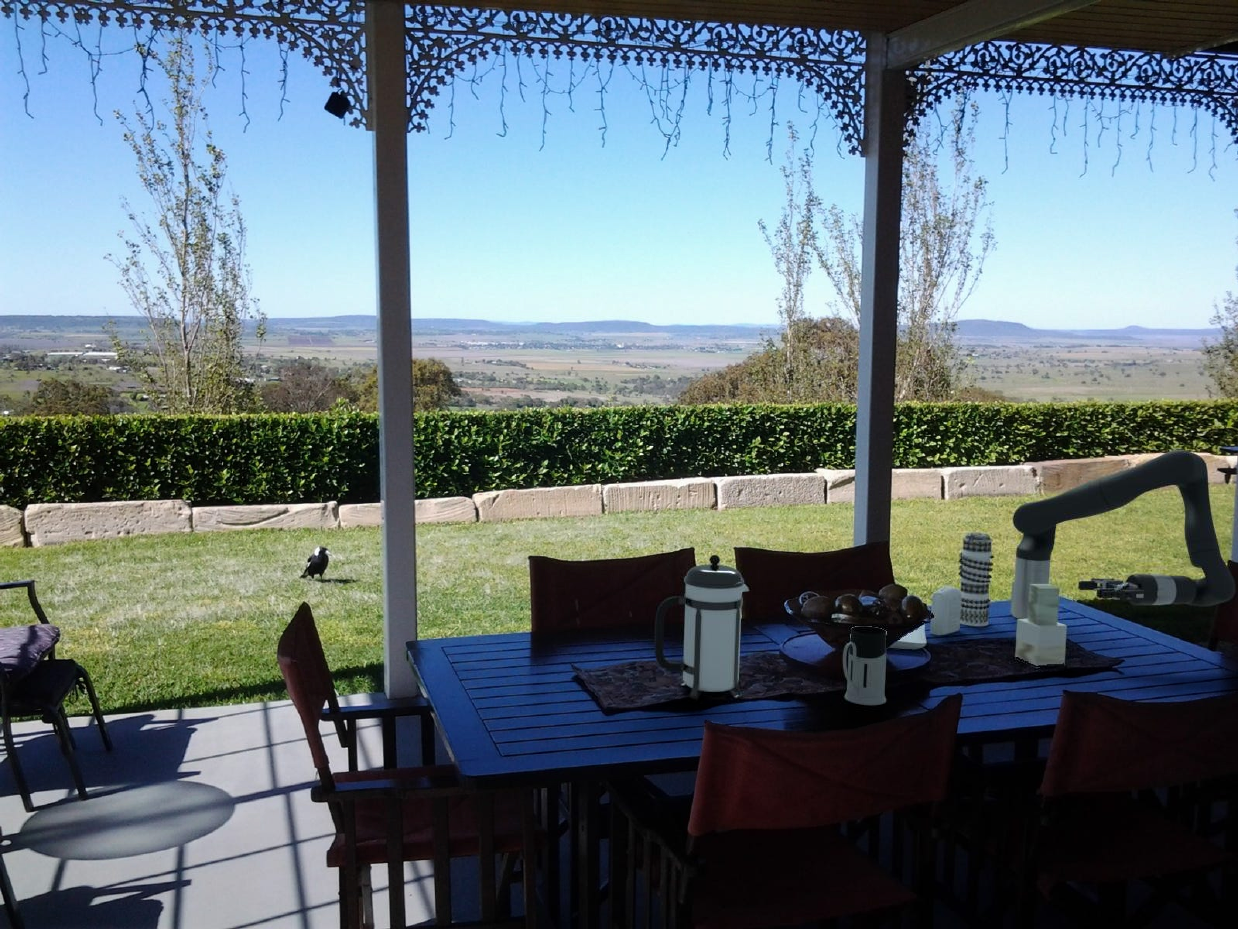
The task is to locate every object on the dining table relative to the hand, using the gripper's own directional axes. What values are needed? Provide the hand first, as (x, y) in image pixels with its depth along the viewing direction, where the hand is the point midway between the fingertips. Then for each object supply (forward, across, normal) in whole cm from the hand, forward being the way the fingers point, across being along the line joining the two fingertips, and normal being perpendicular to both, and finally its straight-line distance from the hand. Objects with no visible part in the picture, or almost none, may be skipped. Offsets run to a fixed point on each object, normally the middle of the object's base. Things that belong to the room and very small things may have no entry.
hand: (1088, 589), depth 268 cm
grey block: (+12, +1, +13) cm, 17 cm away
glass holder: (+66, +29, +18) cm, 75 cm away
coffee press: (+98, +22, +18) cm, 102 cm away
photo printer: (+24, -27, +18) cm, 41 cm away
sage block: (+12, +1, +8) cm, 14 cm away
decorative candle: (+12, -38, +18) cm, 43 cm away
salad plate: (+44, -20, +19) cm, 51 cm away
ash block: (+12, +1, +18) cm, 21 cm away
